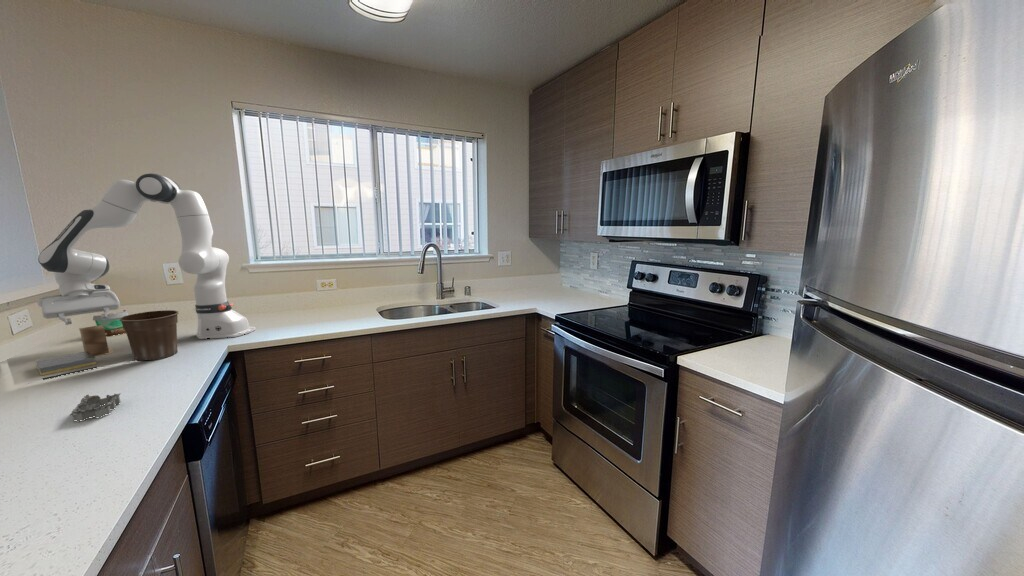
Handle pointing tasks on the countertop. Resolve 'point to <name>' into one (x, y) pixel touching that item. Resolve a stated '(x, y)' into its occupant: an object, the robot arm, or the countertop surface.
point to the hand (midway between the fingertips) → (87, 321)
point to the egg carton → (95, 406)
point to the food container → (112, 323)
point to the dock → (65, 363)
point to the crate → (94, 340)
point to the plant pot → (152, 334)
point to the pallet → (106, 353)
